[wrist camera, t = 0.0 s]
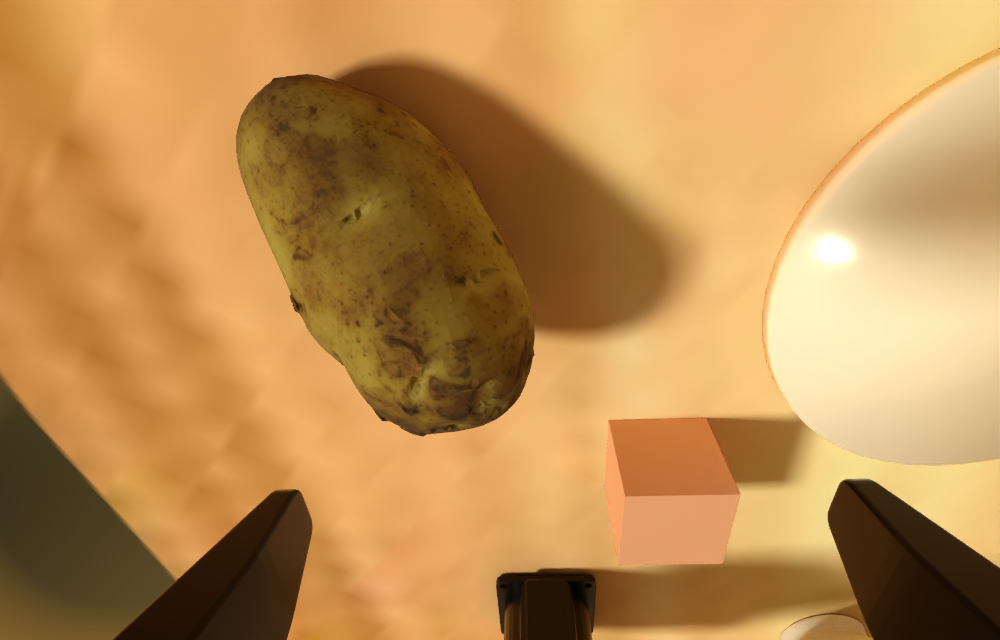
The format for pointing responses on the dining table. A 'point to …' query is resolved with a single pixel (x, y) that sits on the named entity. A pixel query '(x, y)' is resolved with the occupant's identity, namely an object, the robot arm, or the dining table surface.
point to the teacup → (826, 629)
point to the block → (668, 492)
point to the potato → (387, 253)
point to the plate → (900, 284)
